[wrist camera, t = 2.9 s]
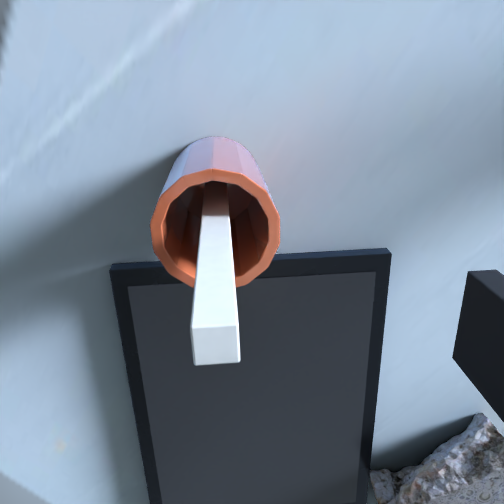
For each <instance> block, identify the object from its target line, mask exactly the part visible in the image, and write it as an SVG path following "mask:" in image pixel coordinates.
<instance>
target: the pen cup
mask: <svg viewBox="0 0 504 504" xmlns="http://www.w3.org/2000/svg"><path fill="white" fill-rule="evenodd" d="M209 181H218V182H224V183H227V193H228V205H229V217H230V229H231V241H232V253H233V265H234V277H235V288H236V287H240V286H244V285H246V284H248V283H249V282H251V281H252V280H253V279H254V278H256V277H257V276H258V275H260V274H261V273H262V272H263V271H265V270H266V269H267V268H268V267H269V265H270V263H271V261H272V259H273V257H274V255H275V253H276V251H277V249H278V247H279V245H280V216H279V213H278V211H277V208H276V206H275V203H274V201H273V199H272V196H271V194H270V191H269V189H268V187H267V184H266V182H265V180H264V177H263V175H262V172H261V171H260V169H259V167H258V164H257V162H256V160H255V159H254V157H253V156H252V154H251V153H250V152H249V151H248V150H247V149H246V148H245V147H244V146H243V145H241V144H240V143H238V142H236V141H234V140H232V139H228V138H225V137H206V138H202V139H200V140H197V141H195V142H193V143H191V144H190V145H189V146H187V147H186V148H185V149H184V150H183V151H182V152H181V153H180V155H179V156H178V157H177V159H176V160H175V162H174V165H173V167H172V169H171V171H170V174H169V176H168V178H167V181H166V183H165V185H164V187H163V190H162V192H161V194H160V196H159V199H158V202H157V204H156V207H155V210H154V212H153V215H152V218H151V220H150V231H151V239H152V246H153V250H154V253H155V254H156V256H157V257H158V259H159V260H160V262H161V263H162V265H163V266H164V267H165V269H166V270H167V272H168V273H169V274H170V275H172V276H173V277H175V278H177V279H178V280H180V281H182V282H183V283H185V284H187V285H188V286H190V287H193V288H194V284H195V275H196V265H197V255H198V245H199V236H200V226H201V216H202V206H203V197H204V187H205V183H206V182H209Z"/></svg>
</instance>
